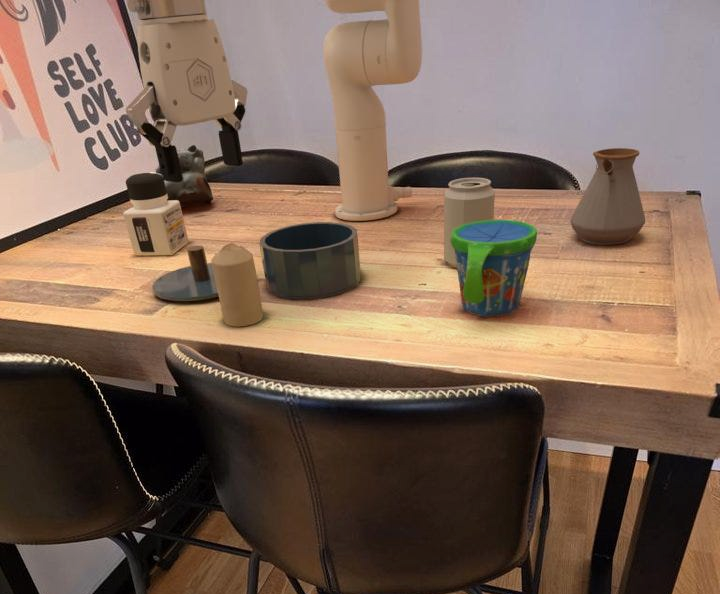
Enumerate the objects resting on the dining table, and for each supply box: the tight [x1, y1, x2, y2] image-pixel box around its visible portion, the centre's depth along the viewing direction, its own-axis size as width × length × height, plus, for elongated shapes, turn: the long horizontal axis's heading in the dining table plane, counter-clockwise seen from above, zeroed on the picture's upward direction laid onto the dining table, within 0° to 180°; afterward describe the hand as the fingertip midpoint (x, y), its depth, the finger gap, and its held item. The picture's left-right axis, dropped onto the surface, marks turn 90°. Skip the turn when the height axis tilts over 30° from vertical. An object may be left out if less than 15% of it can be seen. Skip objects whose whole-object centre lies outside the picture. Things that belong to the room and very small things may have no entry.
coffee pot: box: [570, 147, 646, 246], centre depth 99 cm, size 21×12×15 cm, turn 156°
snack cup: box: [450, 219, 538, 318], centre depth 84 cm, size 16×10×10 cm
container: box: [122, 171, 189, 257], centre depth 117 cm, size 8×8×13 cm
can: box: [443, 177, 496, 269], centre depth 99 cm, size 8×8×12 cm
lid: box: [151, 245, 219, 302], centre depth 101 cm, size 16×16×6 cm
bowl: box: [258, 221, 362, 301], centre depth 98 cm, size 15×15×7 cm
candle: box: [210, 242, 264, 327], centre depth 87 cm, size 6×6×10 cm
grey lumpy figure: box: [155, 144, 214, 207], centre depth 144 cm, size 15×12×14 cm
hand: (204, 172), depth 83 cm, fingers open, 9 cm apart
